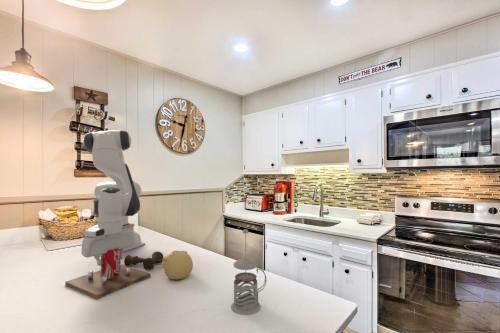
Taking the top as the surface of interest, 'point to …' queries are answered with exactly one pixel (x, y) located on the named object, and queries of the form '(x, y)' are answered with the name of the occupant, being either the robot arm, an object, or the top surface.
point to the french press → (246, 301)
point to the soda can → (111, 263)
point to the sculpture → (177, 265)
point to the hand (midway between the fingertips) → (109, 262)
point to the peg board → (111, 283)
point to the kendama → (144, 260)
